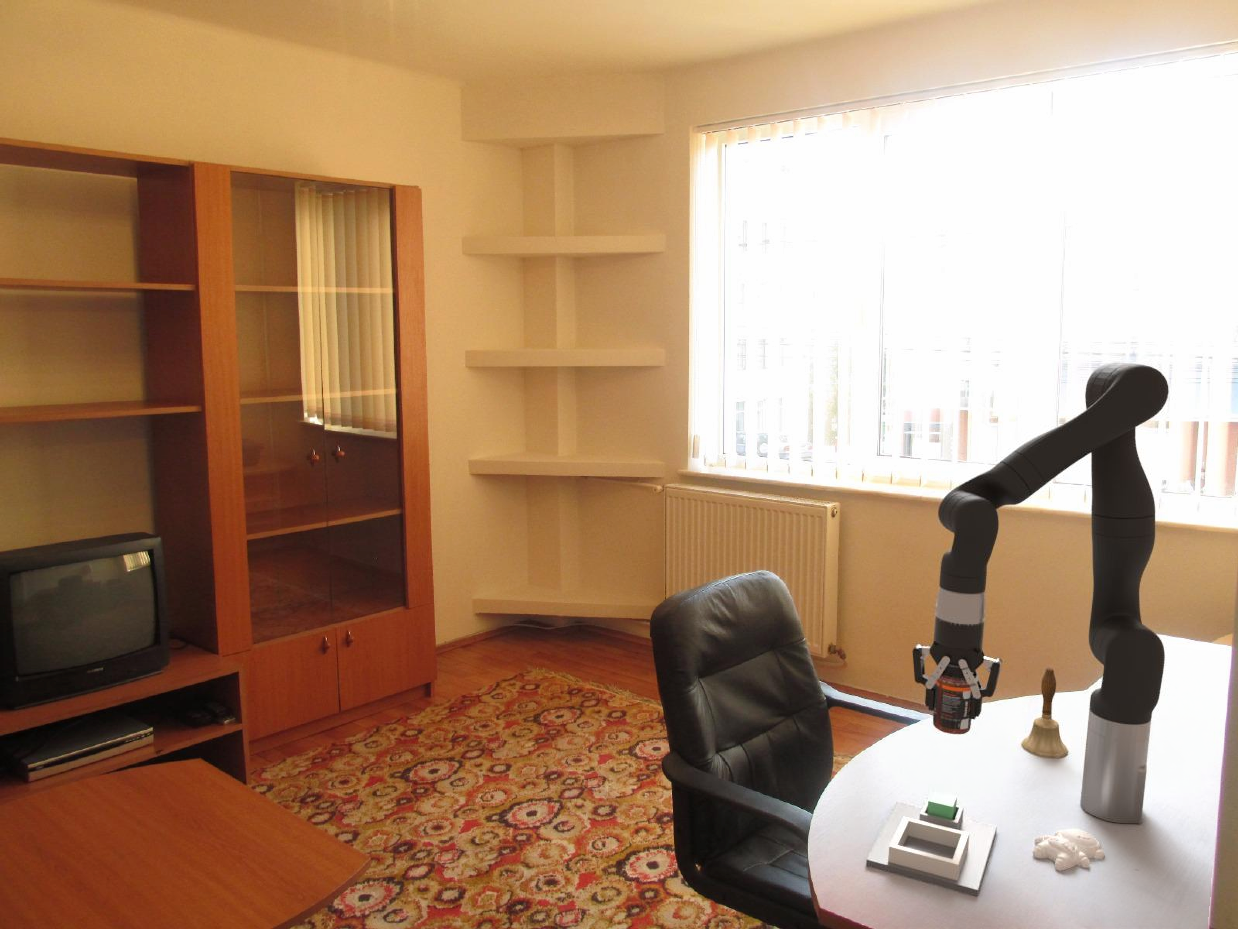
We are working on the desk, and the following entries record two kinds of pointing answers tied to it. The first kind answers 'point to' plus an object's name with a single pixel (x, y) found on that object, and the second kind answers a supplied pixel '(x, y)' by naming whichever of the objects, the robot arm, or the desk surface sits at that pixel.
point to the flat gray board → (934, 848)
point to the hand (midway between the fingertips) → (952, 713)
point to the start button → (942, 805)
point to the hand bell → (1046, 725)
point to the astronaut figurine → (1068, 848)
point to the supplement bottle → (952, 702)
